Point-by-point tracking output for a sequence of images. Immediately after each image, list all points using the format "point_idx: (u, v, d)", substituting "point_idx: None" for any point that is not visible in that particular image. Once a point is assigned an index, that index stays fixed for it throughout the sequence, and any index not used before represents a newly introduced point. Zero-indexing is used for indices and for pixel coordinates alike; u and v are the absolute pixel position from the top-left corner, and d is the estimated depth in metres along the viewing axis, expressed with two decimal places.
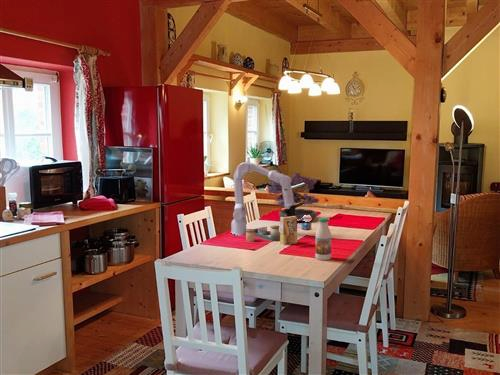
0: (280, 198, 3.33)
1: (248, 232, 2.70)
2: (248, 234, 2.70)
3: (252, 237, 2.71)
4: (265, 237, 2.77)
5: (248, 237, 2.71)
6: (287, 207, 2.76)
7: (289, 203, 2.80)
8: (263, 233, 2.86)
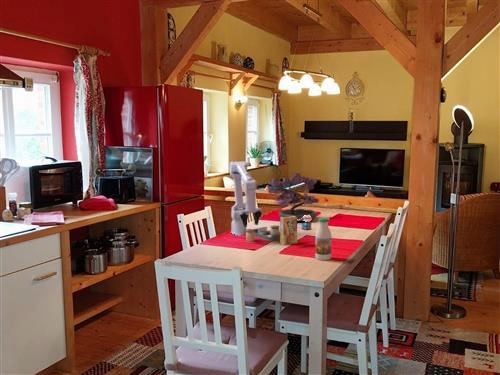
0: (280, 198, 3.33)
1: (248, 232, 2.70)
2: (248, 234, 2.70)
3: (252, 237, 2.71)
4: (265, 237, 2.77)
5: (248, 237, 2.71)
6: (240, 212, 2.67)
7: (247, 209, 2.68)
8: (263, 233, 2.86)
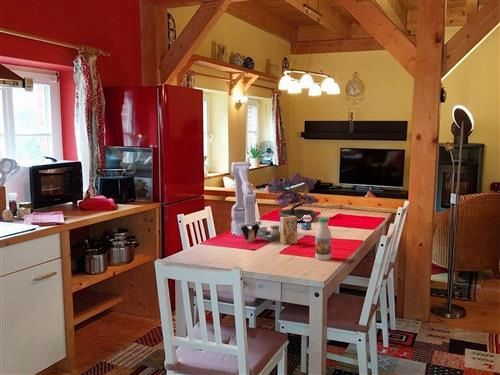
0: (280, 198, 3.33)
1: (248, 232, 2.70)
2: (248, 234, 2.70)
3: (252, 237, 2.71)
4: (265, 237, 2.77)
5: (248, 237, 2.71)
6: (239, 226, 2.68)
7: (246, 222, 2.69)
8: (263, 233, 2.86)
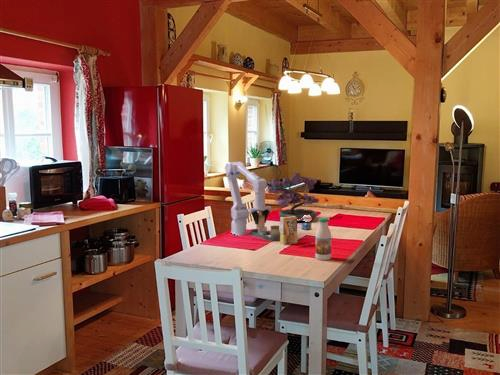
0: (280, 198, 3.33)
1: None
2: (258, 219, 2.75)
3: (262, 222, 2.75)
4: (265, 237, 2.77)
5: (258, 222, 2.75)
6: (249, 211, 2.72)
7: (256, 207, 2.74)
8: (263, 233, 2.86)
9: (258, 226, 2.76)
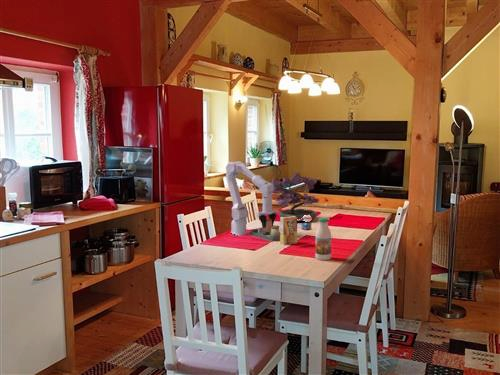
0: (280, 198, 3.33)
1: (266, 221, 2.79)
2: (266, 223, 2.79)
3: (269, 226, 2.80)
4: (265, 237, 2.77)
5: (266, 226, 2.80)
6: (257, 214, 2.77)
7: (264, 211, 2.79)
8: (263, 233, 2.86)
9: (265, 230, 2.80)
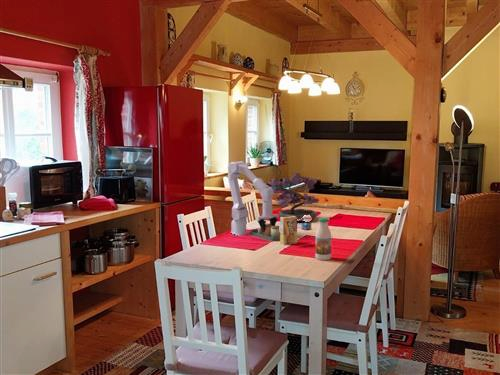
0: (280, 198, 3.33)
1: (266, 226, 2.80)
2: (266, 228, 2.80)
3: (269, 231, 2.80)
4: (265, 237, 2.77)
5: (266, 231, 2.80)
6: (257, 219, 2.77)
7: (264, 215, 2.79)
8: (263, 233, 2.86)
9: None
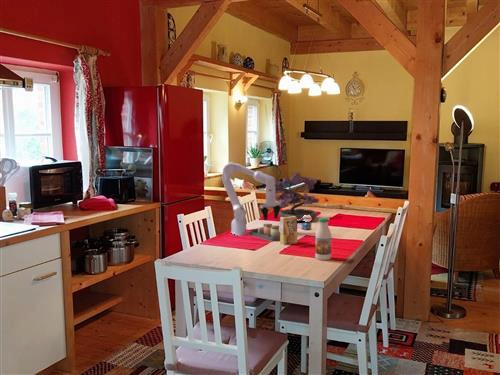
0: (280, 198, 3.33)
1: (266, 227, 2.80)
2: (266, 228, 2.80)
3: (269, 231, 2.80)
4: (265, 237, 2.77)
5: (266, 231, 2.80)
6: (261, 207, 2.85)
7: (267, 203, 2.87)
8: (263, 233, 2.86)
9: (266, 235, 2.80)
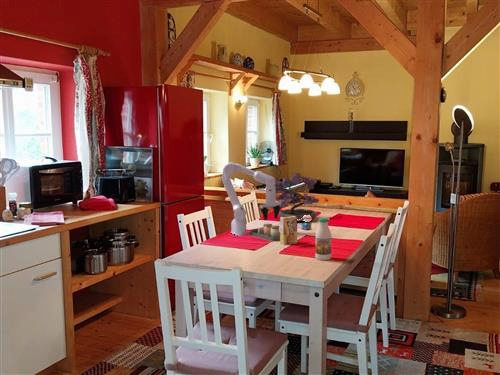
0: (280, 198, 3.33)
1: (266, 226, 2.80)
2: (266, 228, 2.80)
3: (269, 231, 2.80)
4: (265, 237, 2.77)
5: (266, 231, 2.80)
6: (261, 207, 2.85)
7: (267, 203, 2.87)
8: (263, 233, 2.86)
9: (266, 235, 2.80)
